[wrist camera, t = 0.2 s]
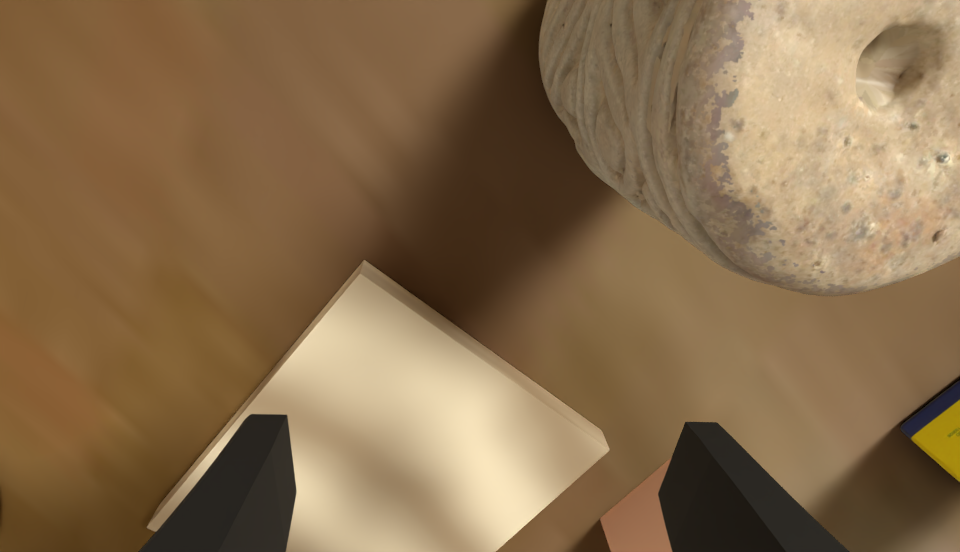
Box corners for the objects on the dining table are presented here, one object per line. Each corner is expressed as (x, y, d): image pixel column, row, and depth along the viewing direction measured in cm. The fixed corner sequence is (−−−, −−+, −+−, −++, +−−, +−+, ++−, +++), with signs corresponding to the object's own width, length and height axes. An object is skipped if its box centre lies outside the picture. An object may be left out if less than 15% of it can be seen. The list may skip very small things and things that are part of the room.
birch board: (393, 619, 27) (391, 643, 26) (159, 504, 24) (146, 527, 23) (601, 430, 24) (609, 450, 23) (364, 259, 20) (359, 273, 19)
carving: (514, 154, 19) (623, 333, 8) (547, -116, 16) (790, -413, 5) (698, 170, 20) (1028, 355, 9) (762, -87, 17) (1385, -296, 6)
